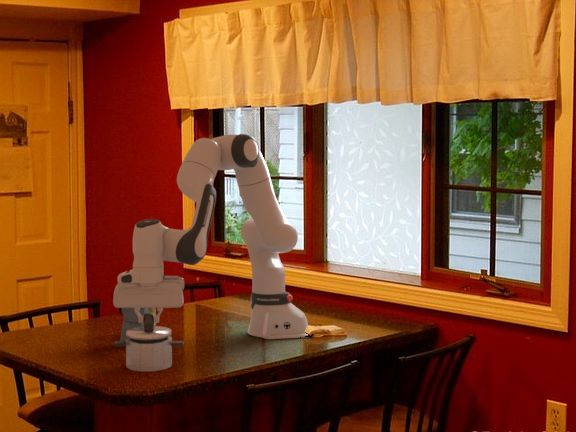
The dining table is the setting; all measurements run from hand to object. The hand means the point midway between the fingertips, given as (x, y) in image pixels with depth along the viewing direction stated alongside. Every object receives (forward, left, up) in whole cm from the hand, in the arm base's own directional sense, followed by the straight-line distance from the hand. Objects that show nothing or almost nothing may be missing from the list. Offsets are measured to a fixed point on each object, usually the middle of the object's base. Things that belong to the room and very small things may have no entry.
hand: (148, 322), depth 275 cm
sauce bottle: (+5, -41, -13) cm, 43 cm away
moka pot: (+8, -27, -13) cm, 31 cm away
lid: (0, 0, -4) cm, 4 cm away
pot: (0, 0, -13) cm, 13 cm away
